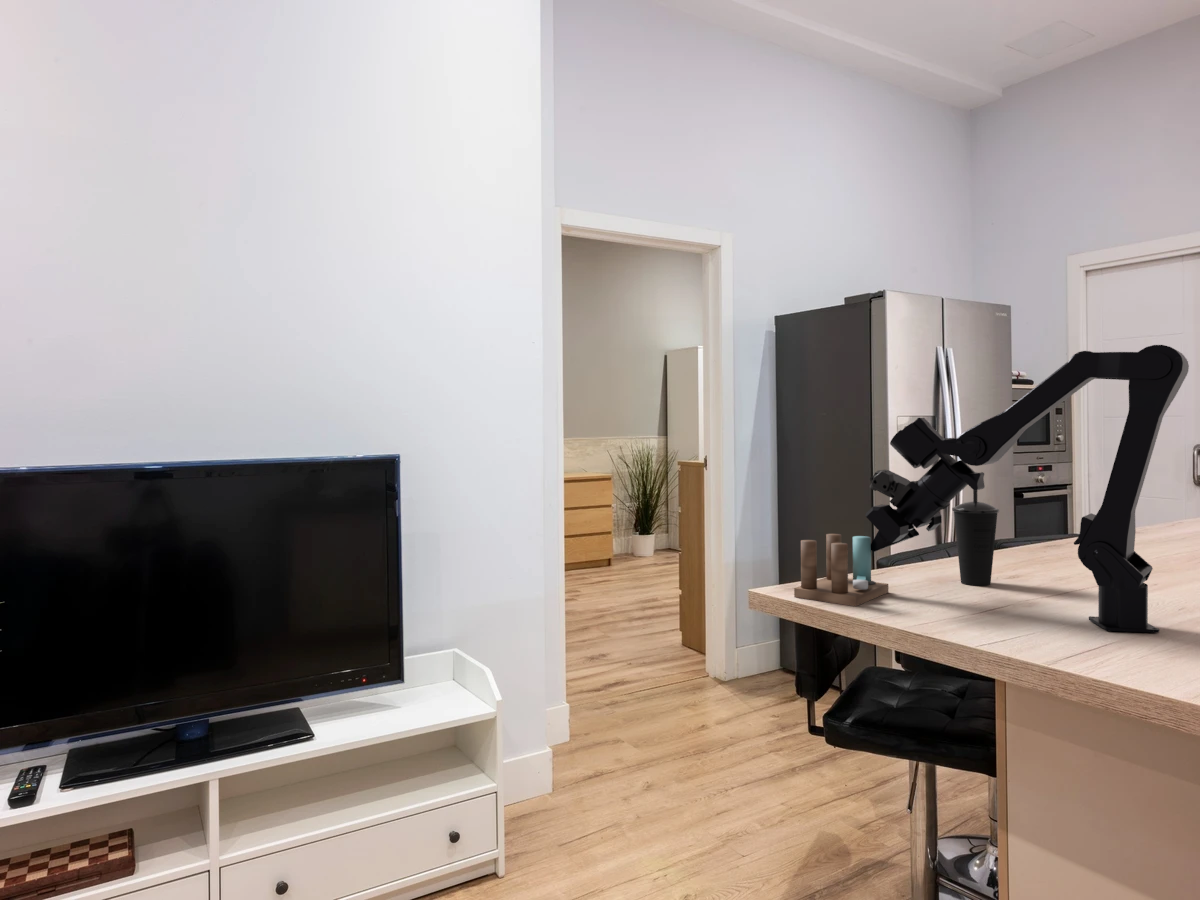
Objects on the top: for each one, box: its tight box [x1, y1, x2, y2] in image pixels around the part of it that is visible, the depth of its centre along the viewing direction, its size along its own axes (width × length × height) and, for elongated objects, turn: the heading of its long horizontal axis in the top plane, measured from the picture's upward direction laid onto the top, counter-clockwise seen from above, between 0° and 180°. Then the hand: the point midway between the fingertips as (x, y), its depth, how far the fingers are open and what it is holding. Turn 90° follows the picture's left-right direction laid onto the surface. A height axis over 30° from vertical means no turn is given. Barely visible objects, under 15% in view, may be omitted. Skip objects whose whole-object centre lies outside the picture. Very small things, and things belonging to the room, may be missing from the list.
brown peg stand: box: [793, 533, 889, 607], centre depth 130 cm, size 11×13×10 cm
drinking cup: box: [951, 489, 1000, 587], centre depth 137 cm, size 8×8×20 cm
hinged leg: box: [852, 535, 872, 590], centre depth 129 cm, size 10×3×8 cm, turn 159°
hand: (871, 549), depth 132 cm, fingers closed, pressing on hinged leg
